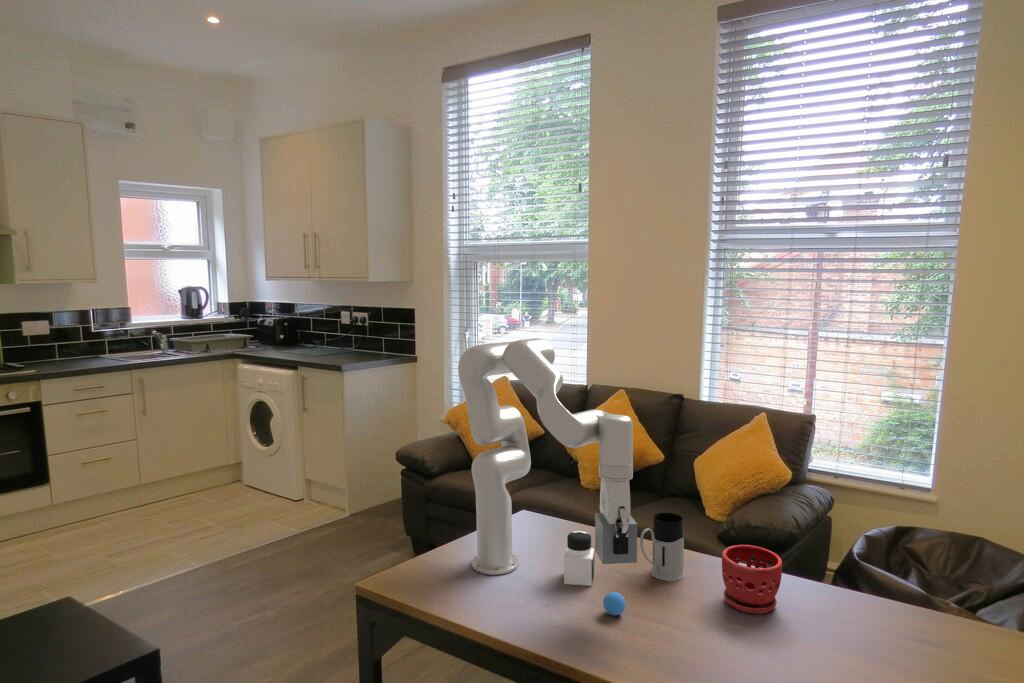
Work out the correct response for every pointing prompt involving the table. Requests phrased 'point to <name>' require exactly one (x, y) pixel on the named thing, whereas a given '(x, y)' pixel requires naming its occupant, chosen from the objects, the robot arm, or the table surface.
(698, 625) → the table surface
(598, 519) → the gray cube
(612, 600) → the ball
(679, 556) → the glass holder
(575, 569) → the medicine bottle
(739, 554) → the plant pot
